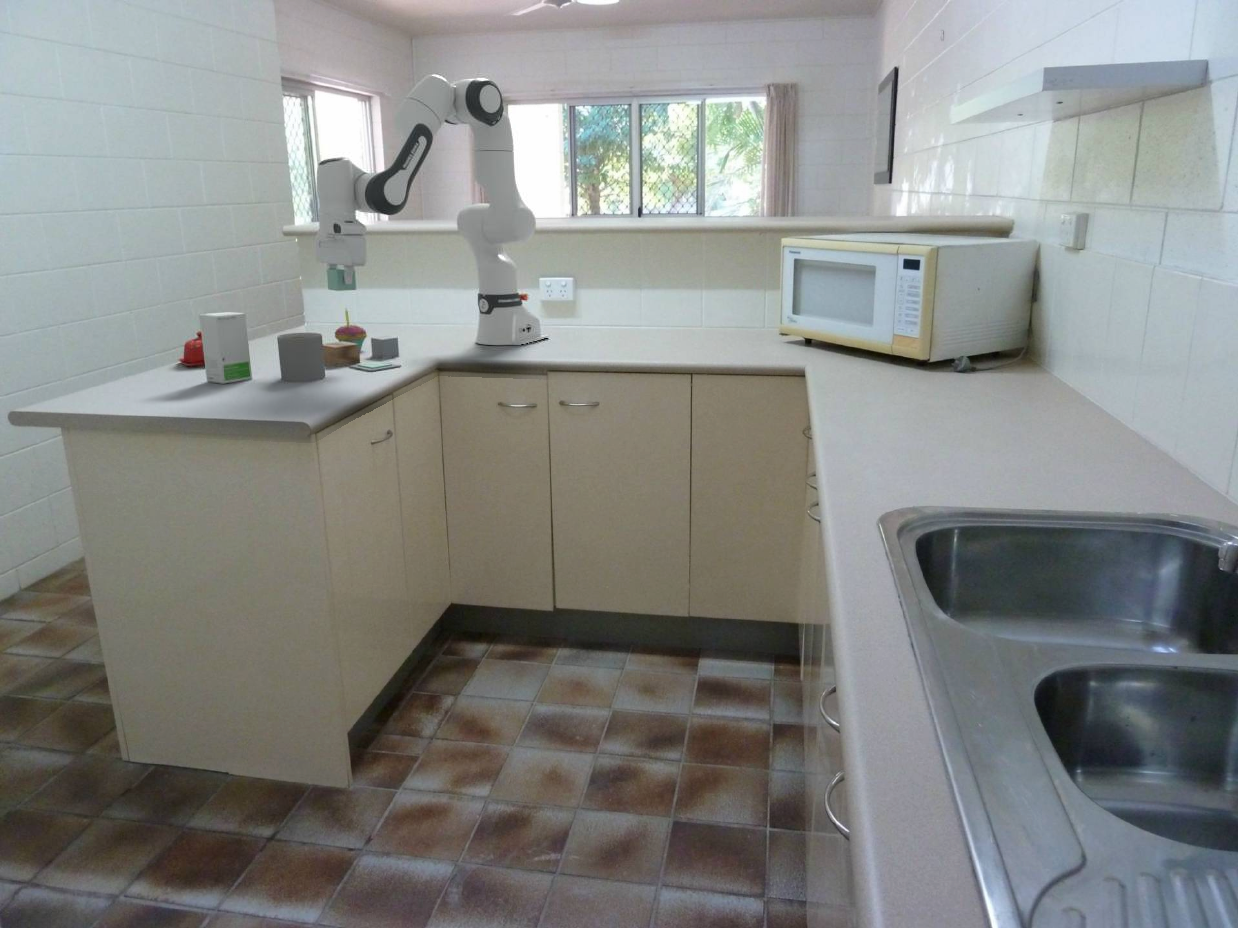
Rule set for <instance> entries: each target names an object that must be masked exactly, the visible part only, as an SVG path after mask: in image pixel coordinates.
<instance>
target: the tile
mask: <svg viewBox="0 0 1238 928" xmlns="http://www.w3.org/2000/svg"><path fill="white" fill-rule="evenodd" d="M401 367H402V365H401V364H395V363H391V362H385V361H380V360H379V361H373V362H366V363H358V364H352V365H348V368H350V369H354V370H360V371H364V372H369V373H373V372H379V371H385V370H389V369H396V368H401Z"/></svg>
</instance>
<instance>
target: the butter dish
mask: <svg viewBox="0 0 1238 928" xmlns="http://www.w3.org/2000/svg"><path fill="white" fill-rule="evenodd" d="M196 335H197V337H195V338H192V339H190V340H188V341H186V342H185V343H184V347H183V358H182V357H181V358H178V359H177V361H179V362H180V363H182V364H183V365H185V366H188V367H193V368H197V367H198V368H201V367H205V360H204V352H203V343H202V335H201V330H200V331H197V332H196Z"/></svg>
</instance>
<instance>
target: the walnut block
mask: <svg viewBox="0 0 1238 928" xmlns="http://www.w3.org/2000/svg"><path fill="white" fill-rule="evenodd" d="M323 353H324V365H327V364H328V365H327V366H332V365H334V366H333V367H342V366H341V365H343V366H350V365H357V364H361V357H360V351H359V344H355V343H349V342H343V341H342V342H339V341H335V342H329V343H323Z"/></svg>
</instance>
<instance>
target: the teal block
mask: <svg viewBox="0 0 1238 928" xmlns="http://www.w3.org/2000/svg"><path fill="white" fill-rule="evenodd" d="M344 274H345V270H344V268H336V269H327V268H326V276H327V289H328V290H329V291H337V292H339V291H340V292H342V291H356V290H357V284H356V283H357V282H356V280H357V279H356V269H354V272H353V276H352V284H344V283H343V277H344Z"/></svg>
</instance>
